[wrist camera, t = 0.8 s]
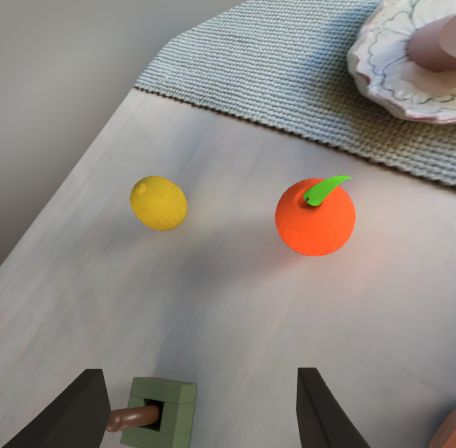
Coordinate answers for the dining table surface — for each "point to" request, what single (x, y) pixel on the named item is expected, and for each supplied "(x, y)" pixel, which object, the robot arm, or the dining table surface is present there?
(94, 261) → the dining table surface
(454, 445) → the bowl
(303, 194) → the clementine
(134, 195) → the lemon
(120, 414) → the stick
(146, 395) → the holder
